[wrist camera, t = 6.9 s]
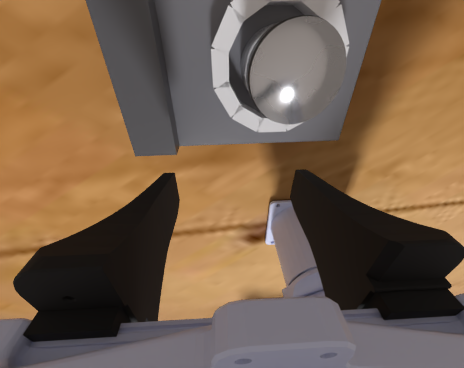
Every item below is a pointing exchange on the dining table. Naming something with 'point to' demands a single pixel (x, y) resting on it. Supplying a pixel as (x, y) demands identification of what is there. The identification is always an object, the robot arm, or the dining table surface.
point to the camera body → (212, 68)
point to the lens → (294, 68)
